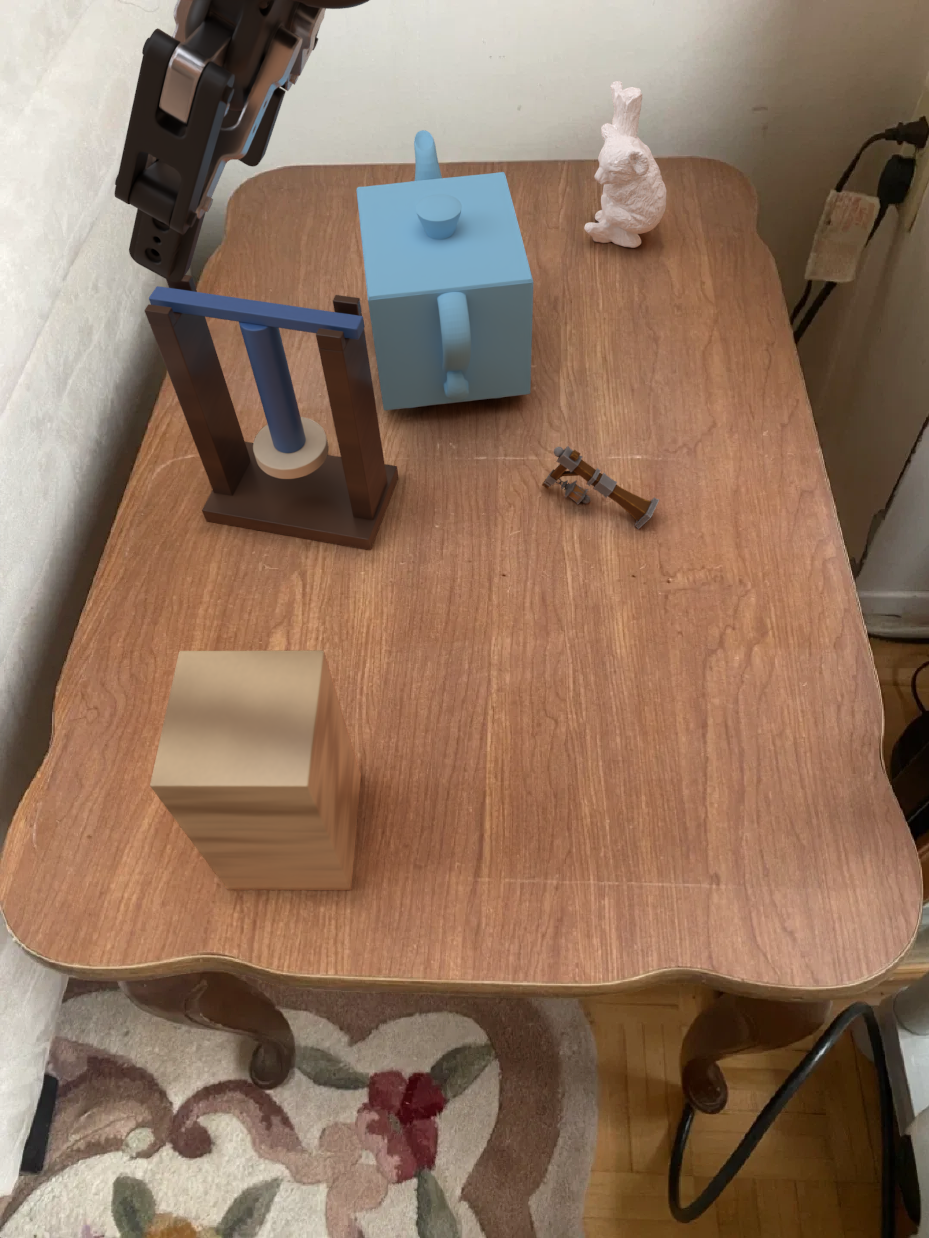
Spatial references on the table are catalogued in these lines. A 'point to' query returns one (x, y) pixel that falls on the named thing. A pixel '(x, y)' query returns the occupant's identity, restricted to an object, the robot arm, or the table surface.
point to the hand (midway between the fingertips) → (199, 207)
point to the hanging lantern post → (596, 485)
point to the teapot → (446, 286)
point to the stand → (241, 491)
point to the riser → (261, 768)
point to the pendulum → (271, 371)
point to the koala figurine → (626, 177)
